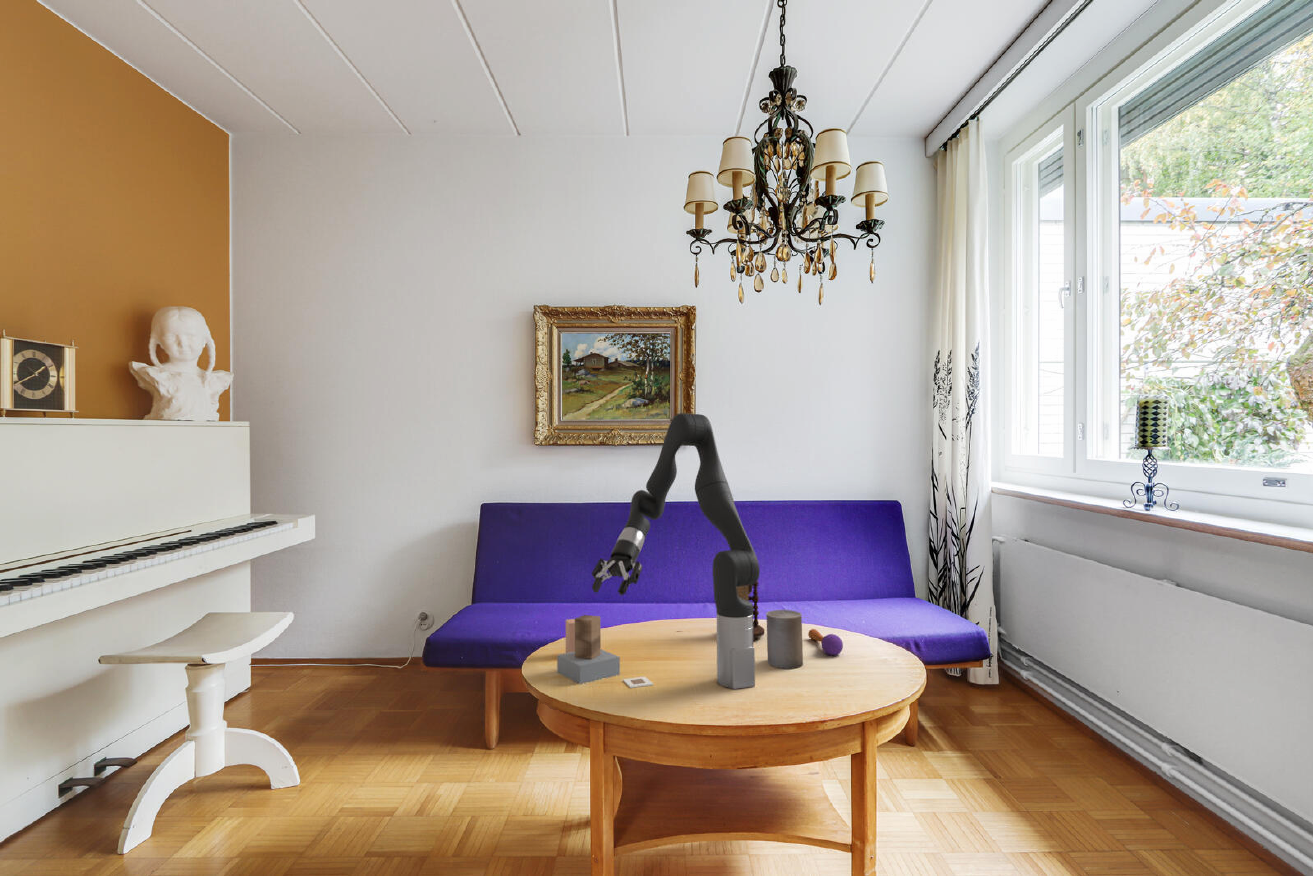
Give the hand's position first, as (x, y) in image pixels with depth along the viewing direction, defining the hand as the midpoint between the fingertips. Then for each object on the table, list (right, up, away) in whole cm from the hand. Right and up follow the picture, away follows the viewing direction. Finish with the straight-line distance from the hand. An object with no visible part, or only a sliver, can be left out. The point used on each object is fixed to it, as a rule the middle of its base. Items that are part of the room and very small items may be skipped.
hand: (607, 592), depth 181 cm
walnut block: (-4, -15, -9) cm, 18 cm away
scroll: (+41, -21, +26) cm, 53 cm away
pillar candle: (+49, -20, -2) cm, 53 cm away
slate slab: (-4, -20, -9) cm, 22 cm away
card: (+9, -19, -17) cm, 27 cm away
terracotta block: (-10, -20, +7) cm, 23 cm away
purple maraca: (+64, -20, +13) cm, 69 cm away
